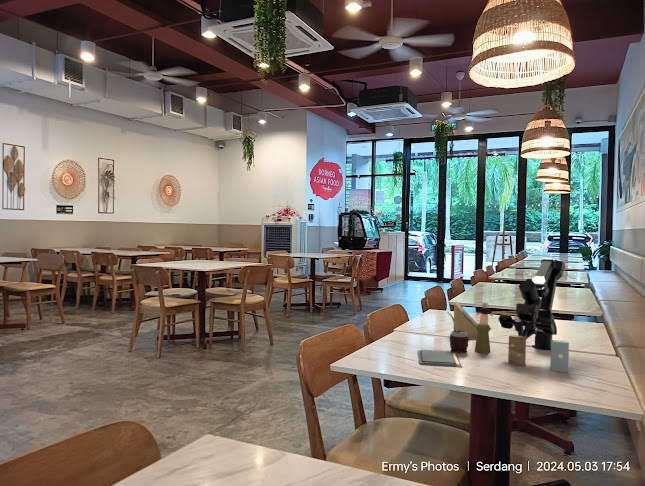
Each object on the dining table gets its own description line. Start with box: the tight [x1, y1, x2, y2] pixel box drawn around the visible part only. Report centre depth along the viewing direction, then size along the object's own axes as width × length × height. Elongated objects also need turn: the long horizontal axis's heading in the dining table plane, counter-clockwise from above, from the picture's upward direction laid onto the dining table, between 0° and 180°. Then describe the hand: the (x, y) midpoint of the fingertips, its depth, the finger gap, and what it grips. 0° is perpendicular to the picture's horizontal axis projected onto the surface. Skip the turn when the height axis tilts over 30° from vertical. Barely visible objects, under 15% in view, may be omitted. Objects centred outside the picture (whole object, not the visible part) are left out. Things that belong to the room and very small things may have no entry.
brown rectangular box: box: [507, 334, 527, 367], centre depth 169 cm, size 4×5×10 cm
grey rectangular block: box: [550, 339, 570, 373], centre depth 162 cm, size 4×5×10 cm
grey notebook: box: [417, 349, 463, 369], centre depth 174 cm, size 20×2×15 cm
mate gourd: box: [446, 311, 470, 355], centre depth 185 cm, size 8×8×15 cm
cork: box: [474, 322, 491, 354], centre depth 187 cm, size 6×6×11 cm
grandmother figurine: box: [476, 300, 494, 325], centre depth 238 cm, size 8×4×13 cm, turn 80°
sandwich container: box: [453, 301, 478, 339], centre depth 216 cm, size 9×15×15 cm, turn 69°
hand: (520, 342), depth 171 cm, fingers closed
